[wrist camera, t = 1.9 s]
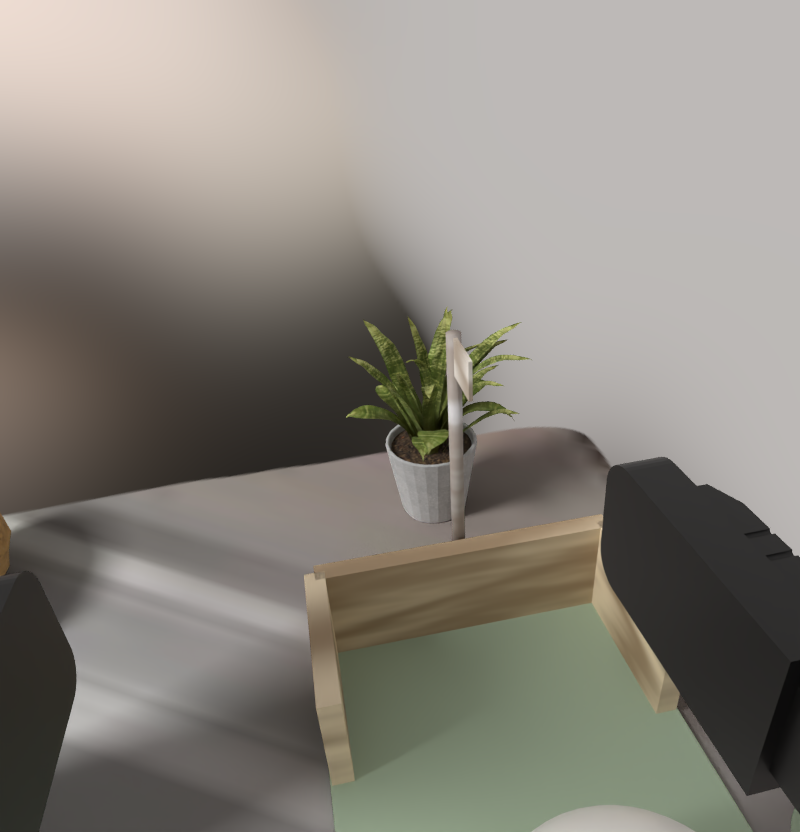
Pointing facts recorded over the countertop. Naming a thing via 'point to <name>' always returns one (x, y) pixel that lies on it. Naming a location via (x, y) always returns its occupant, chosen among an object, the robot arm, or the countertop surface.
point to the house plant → (428, 418)
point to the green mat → (514, 733)
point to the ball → (611, 821)
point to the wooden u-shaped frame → (461, 589)
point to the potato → (4, 546)
